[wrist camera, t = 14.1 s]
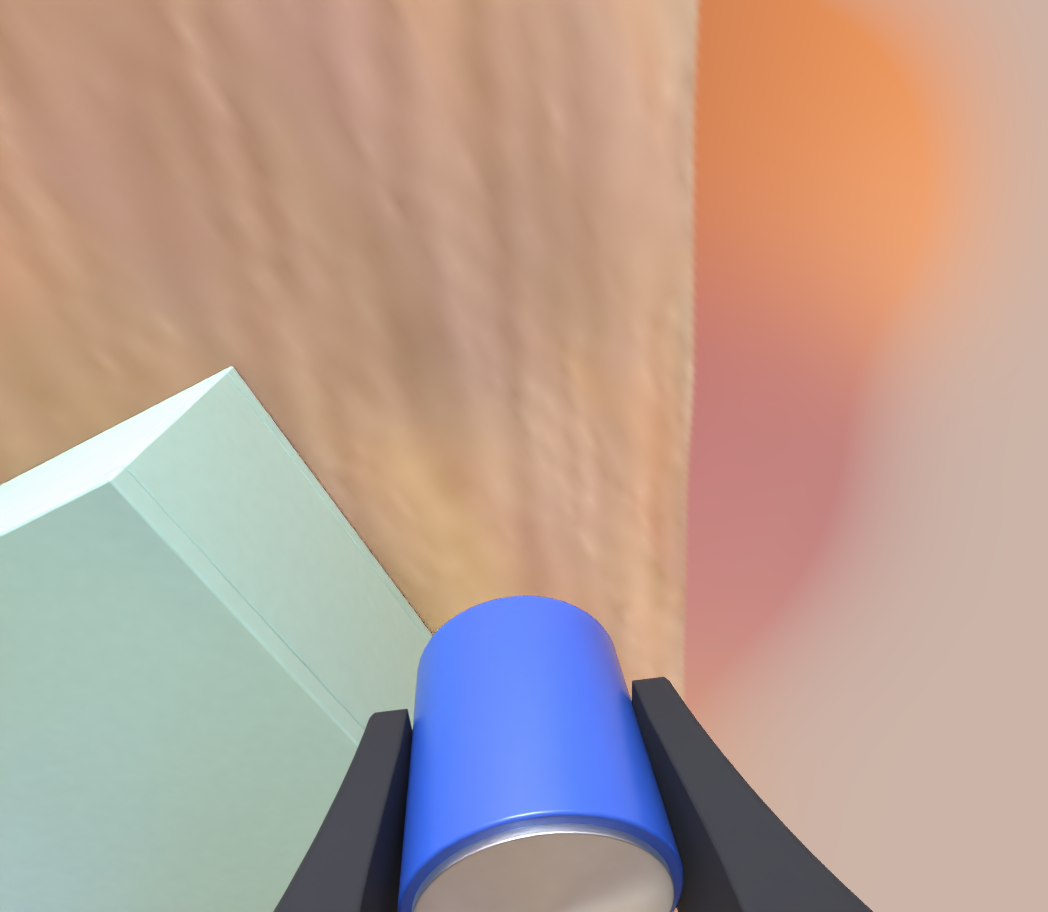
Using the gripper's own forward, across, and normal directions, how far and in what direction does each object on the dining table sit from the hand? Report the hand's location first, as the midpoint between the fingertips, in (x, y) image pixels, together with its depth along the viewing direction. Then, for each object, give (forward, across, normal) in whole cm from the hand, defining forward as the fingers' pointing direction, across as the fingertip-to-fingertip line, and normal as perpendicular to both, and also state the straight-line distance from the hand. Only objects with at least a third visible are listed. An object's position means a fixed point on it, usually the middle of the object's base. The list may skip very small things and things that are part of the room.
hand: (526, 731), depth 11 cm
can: (+1, 0, 0) cm, 1 cm away
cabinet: (+10, +11, +4) cm, 16 cm away
